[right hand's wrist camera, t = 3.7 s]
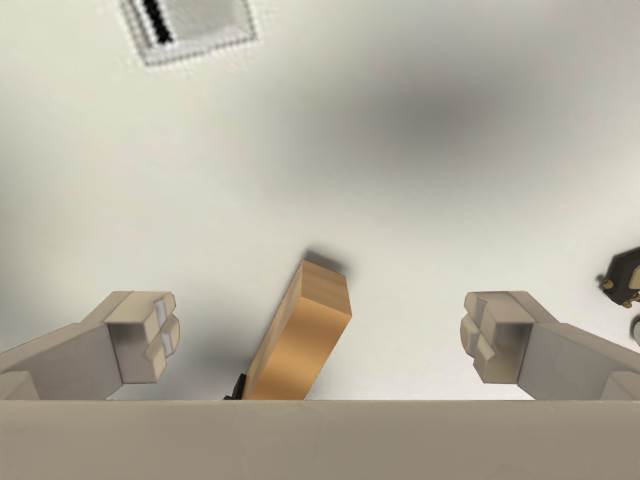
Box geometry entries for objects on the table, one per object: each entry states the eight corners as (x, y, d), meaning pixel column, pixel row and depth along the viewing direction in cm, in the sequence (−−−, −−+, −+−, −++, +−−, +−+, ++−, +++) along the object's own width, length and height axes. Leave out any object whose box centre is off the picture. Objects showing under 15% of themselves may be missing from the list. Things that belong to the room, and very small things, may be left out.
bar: (302, 258, 41) (300, 296, 34) (345, 276, 42) (352, 316, 35) (234, 399, 49) (219, 455, 41) (271, 411, 50) (264, 467, 42)
